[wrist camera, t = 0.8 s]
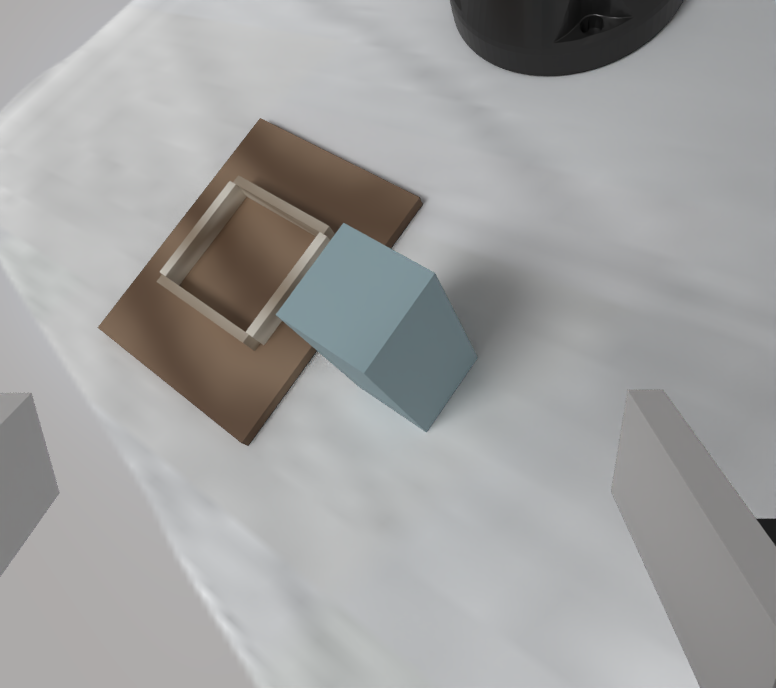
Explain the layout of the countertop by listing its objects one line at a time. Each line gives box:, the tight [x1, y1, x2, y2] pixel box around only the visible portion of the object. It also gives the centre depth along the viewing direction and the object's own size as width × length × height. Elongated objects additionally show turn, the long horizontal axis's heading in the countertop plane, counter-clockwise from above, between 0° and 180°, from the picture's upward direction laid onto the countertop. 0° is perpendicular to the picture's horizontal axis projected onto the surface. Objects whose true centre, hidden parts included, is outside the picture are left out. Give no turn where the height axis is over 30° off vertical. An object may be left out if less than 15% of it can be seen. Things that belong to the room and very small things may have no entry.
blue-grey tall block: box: [276, 223, 478, 432], centre depth 33 cm, size 5×5×11 cm
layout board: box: [98, 118, 423, 446], centre depth 42 cm, size 18×14×2 cm
